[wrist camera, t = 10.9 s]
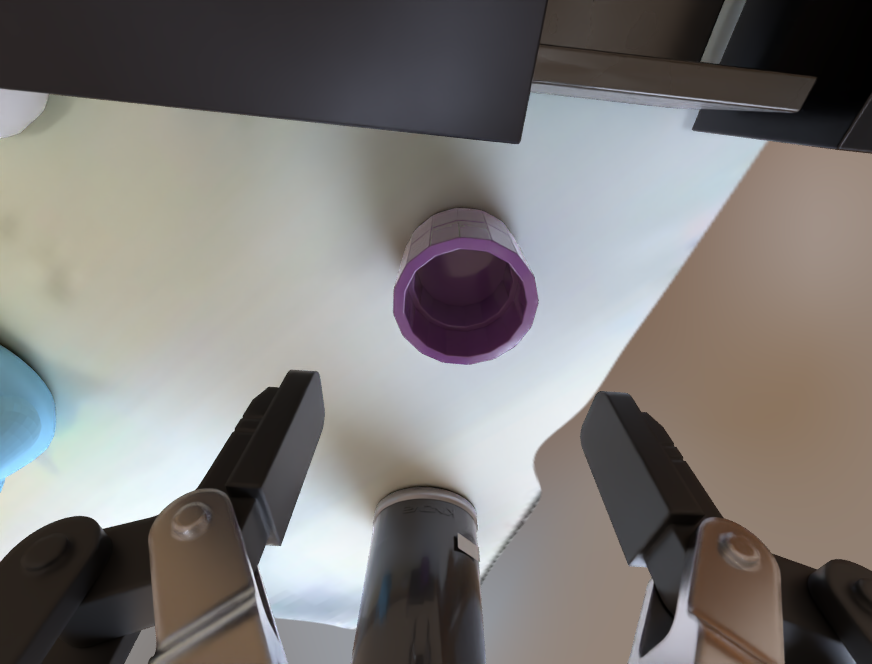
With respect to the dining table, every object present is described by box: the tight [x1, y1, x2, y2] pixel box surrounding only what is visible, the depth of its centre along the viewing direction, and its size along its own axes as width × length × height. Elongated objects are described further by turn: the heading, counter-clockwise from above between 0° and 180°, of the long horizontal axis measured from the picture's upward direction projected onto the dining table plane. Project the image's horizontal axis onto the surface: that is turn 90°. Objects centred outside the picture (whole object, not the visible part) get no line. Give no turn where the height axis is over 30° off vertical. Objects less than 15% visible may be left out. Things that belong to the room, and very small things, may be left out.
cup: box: [393, 208, 539, 365], centre depth 18 cm, size 6×6×5 cm
